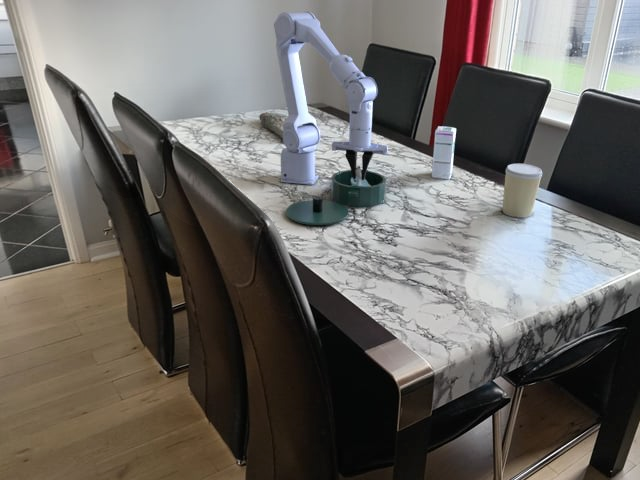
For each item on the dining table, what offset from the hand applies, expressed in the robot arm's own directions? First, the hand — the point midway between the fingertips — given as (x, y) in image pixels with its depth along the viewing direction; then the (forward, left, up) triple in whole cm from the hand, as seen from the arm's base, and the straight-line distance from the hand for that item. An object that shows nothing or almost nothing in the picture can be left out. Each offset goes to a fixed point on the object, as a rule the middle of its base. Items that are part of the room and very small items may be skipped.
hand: (358, 178), depth 155 cm
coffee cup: (+43, 0, -6) cm, 43 cm away
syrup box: (+22, +25, -6) cm, 34 cm away
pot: (0, 0, -5) cm, 5 cm away
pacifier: (+1, 0, -3) cm, 3 cm away
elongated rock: (-38, +60, -6) cm, 71 cm away
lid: (-8, -15, -5) cm, 18 cm away
